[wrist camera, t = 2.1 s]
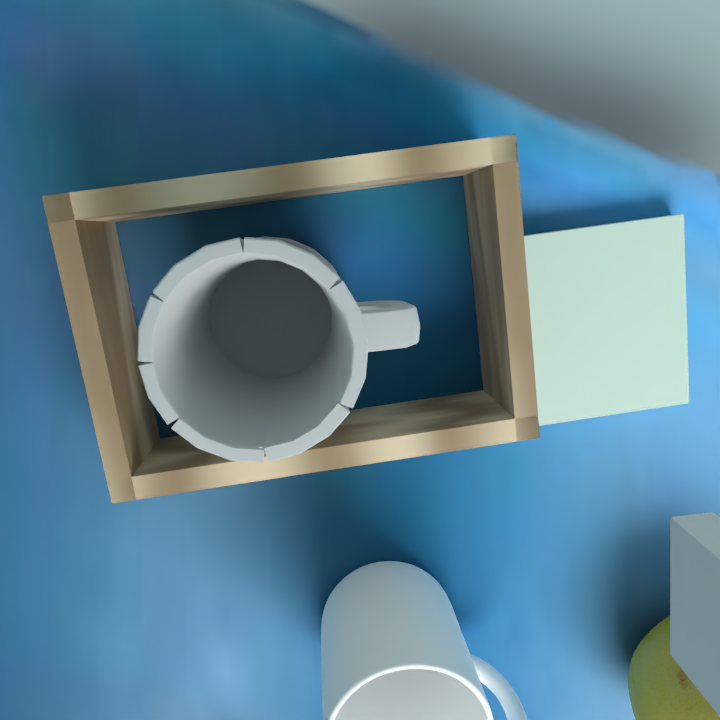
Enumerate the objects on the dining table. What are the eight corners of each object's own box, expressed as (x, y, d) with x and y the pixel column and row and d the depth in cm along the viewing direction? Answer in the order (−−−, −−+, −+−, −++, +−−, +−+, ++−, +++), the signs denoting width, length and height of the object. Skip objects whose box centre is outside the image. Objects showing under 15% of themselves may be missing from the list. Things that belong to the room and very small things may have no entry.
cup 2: (350, 538, 39) (363, 642, 29) (523, 599, 41) (590, 716, 31) (300, 651, 40) (297, 787, 31) (470, 705, 42) (518, 851, 32)
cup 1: (302, 181, 35) (297, 155, 23) (406, 307, 37) (451, 342, 25) (160, 306, 36) (85, 342, 24) (269, 423, 37) (249, 510, 26)
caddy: (143, 460, 37) (111, 503, 31) (88, 202, 34) (41, 196, 28) (505, 406, 38) (540, 437, 32) (481, 150, 35) (516, 134, 29)
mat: (501, 424, 38) (507, 430, 37) (484, 240, 36) (490, 240, 35) (677, 397, 39) (689, 402, 38) (671, 214, 37) (683, 214, 36)
